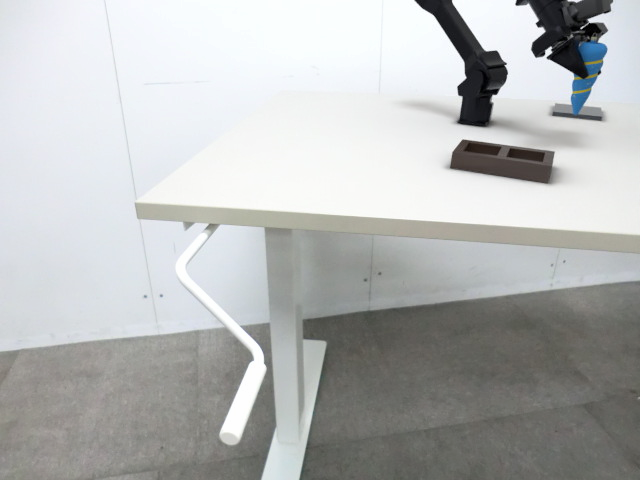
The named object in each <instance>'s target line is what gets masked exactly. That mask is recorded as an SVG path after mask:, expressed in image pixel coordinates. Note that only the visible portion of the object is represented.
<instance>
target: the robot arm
mask: <svg viewBox="0 0 640 480" xmlns="http://www.w3.org/2000/svg"><path fill="white" fill-rule="evenodd" d="M413 1H414V3H416V4H417V5H418V6H419V7H420V8H421V9H422V10H424V11H426V12H427V13H429V14H430V15H432V16H433V17H434V18H435V19H436V21H437V23H438V24H439V26H440V28H441V29H442V30H443V32H444V34H445V36H446V37H447V39H448V40H449V42H450V43H451V44H452V46H453V47H454V49H455V51H456V53H458V55H459V56H460V58H461V60H462V61H463V63H464V64H463V65H464V76H465V79H464V80H463V81H461V82H460V83H459V84H458V85H457V87H456V89H457V96H458V97H461V105H460V110H459V111H460V112H459V118H458V119H457V122H456V123H458V124H462V125H463V124H465V125H473V126H481V127H486V126H487V125H488V124H489V123H490V122H491V120H492V116H493V112H494V111H493V110H494V105H495V103H494V102H493V96H497V95H498V94H499V92H500V90H501V88H502V87H504V85H505V84H506V82H507V80H508V75H509V71H508V68H507V65H508V62H506V61H504V60H503V59H502V57H501V54H500V52H499V51H498V50H485V49H484V48H483V46H482V44H481V43H480V41H479V40H478V39H477V37H476V36H475V34H474V33H473V31H472V29H471V28H470V27H469V25H468V24H467V22H466V21H465V20H464V18H463V16H462V15H461V13H460V12H459V11H458V9H457V7H456V6H455V5H454V3H453V0H413ZM613 3H614V0H579V1H577V2H576V1H574V0H573V1H572V0H515V4H514V5H515V7H520V6H521V7H522V6H527V5H528V6H529V7H530V9H531V10H532V12H533V14H534V15H535V17H536V19H537V21H536V22H535V25H536V27H537V28H538V29H539V28H542V29H543V31H544V32H543V33H542V34H540V36H538V37H537V38H536V39H535V40H534V41H533V42H531V47H530V51H531V52H532V54H533V56H534V57H535V58H536V59H538V58H543V57H546V58H545V59H546V60H548V61H551V62H553V63H555V64H556V65H558V66H560V67H562V68H564V69H566V70H567V71H569V72H570V73H572V74H573V73H574V74H575V75H577V76H579V77H580V78H582V79H585V78H587V77H588V76H589V73H588V71H587V68H586V65H585V63H584V61H583V58H582V56H581V54H580V51H579V46H580V45H581V44H582V43H583V42H590V41H591V37H597V39H596V42H598V43H599V41H600V39H601V38H602V37H603V36H604V35H606V33H609V32H608V31H609V29H608V27H607V26H606V24H605V23H604V22H600V21H599V22H598V21H596V22H595V21H594V22H590V21H589V20H591V19H592V18H595V17H598V16H601V15H603V14H604V15H606V14H608V13H611V12H612V5H611V4H613ZM596 34H597V36H596ZM548 49H550V52H551V53H549V55H547V56H546V51H547V50H548ZM574 74H573V75H574ZM601 74H602V68H601V69H600V71H599V72H598V76H600V75H601Z"/></svg>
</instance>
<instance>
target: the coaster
mask: <svg viewBox="0 0 640 480" xmlns="http://www.w3.org/2000/svg"><path fill="white" fill-rule="evenodd" d="M552 116H555V117H562V118H573V119H582V120H589V121H590V120H591V121H600V122H601V121H602V119H603V112H602V107H599V106H589V105H583V107H582V108H581V110H580V111H579V113H578V114H577V115H574V114H573V108H572V104H567V103H559V102H555V103H554V107H553V109H552Z"/></svg>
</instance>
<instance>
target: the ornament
mask: <svg viewBox="0 0 640 480" xmlns="http://www.w3.org/2000/svg"><path fill="white" fill-rule="evenodd" d="M596 36H597V34H596ZM596 39H597V37H591V41H590V42H583V43H582V44H581V45H580V46H579V51H580V54H581V56H582V58H583V61H584V63H585V65H586V68H587V71H588V73H589V76H588V77H587V78H585V79H582V78H580V77H579V76H577V75H575V74H574V73H572V74H573V80H572V83H571V90H572V93H571V95H570V103H571V104H570V105H572V108H573V114H574V115H577V114H578V113H579V111H580V110H581V108H582V107H583V106H585V104H586V102H587V100H588V99H589V97H590V95H591V94H592V87H593V86H594V84H595V83H596V82H597V79H598V76H599V75H598V72H599V71H600V69H601V70H602V68H603V66H604V58H605V56H606V55H607V53H608V46H607V45H606V44H605V43H603V42H599V41H598V42H596Z"/></svg>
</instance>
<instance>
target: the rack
mask: <svg viewBox="0 0 640 480" xmlns="http://www.w3.org/2000/svg"><path fill="white" fill-rule="evenodd" d="M555 152H556V151H554V150H548V149H547V150H546V149H540V148H532V147H523V146H516V145H508V144H502V143H495V142H487V141H479V140H472V139H471V140H470V139H465V138H464V139H463V138H462V139H461V140H460V142H459V143H458V144H457V146H455V148H454V149H453V151H451V159H450V166H449V168H450V169H454V170H460V171H467V172H474V173H480V174H486V175H491V176H492V175H493V176H498V177H505V178H510V179H519V180H524V181H531V182H537V183H544V184H548V183H549V182H550V177H551V174H552V173H551V172H552V169H553V164H554V159H555Z"/></svg>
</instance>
